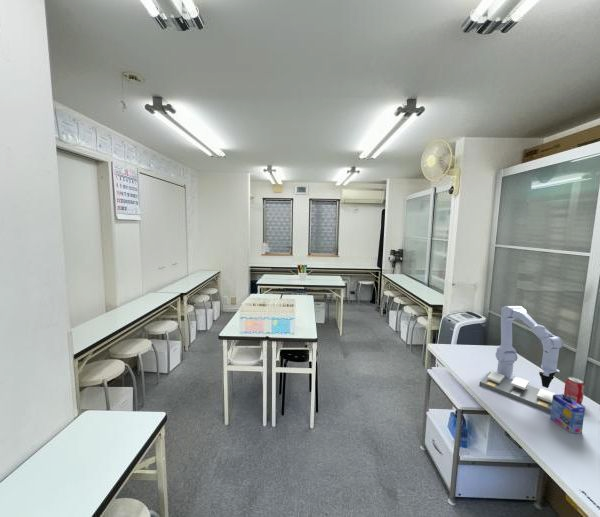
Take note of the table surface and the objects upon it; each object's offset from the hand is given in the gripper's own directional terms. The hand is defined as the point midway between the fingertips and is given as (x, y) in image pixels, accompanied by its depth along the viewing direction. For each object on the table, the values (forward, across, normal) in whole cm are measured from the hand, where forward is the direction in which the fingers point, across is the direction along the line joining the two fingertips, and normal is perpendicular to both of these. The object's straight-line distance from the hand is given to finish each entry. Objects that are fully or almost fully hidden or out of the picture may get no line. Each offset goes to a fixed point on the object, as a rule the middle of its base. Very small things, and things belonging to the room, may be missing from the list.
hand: (546, 384), depth 141 cm
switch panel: (+9, -1, +10) cm, 14 cm away
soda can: (+10, +12, -10) cm, 18 cm away
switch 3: (+6, 0, 0) cm, 7 cm away
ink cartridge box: (+10, -16, -10) cm, 21 cm away
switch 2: (+5, 0, +10) cm, 12 cm away
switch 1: (+7, 0, +22) cm, 22 cm away
